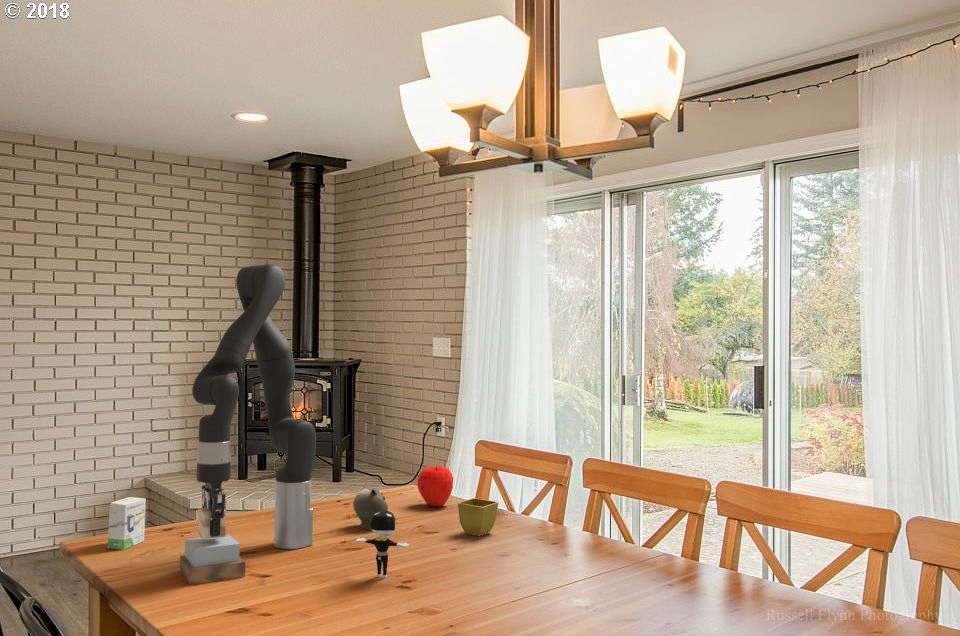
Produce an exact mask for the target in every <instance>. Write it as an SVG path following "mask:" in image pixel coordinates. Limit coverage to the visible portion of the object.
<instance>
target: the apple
mask: <svg viewBox="0 0 960 636" xmlns="http://www.w3.org/2000/svg"><path fill="white" fill-rule="evenodd" d="M416 486H417V489H418V492H419V495H421V498H422V499H423V500H424V502H425V504H427V505H428V506H431V507H436V506H439V507H443V506H445V504H446V503H447V501H448V500H449V498H450V496H451V495H452V491H453V488H454V476H453V473H452V471H451V470H450V469H449V468H447V467H444V466H438V465H436V466H426V467H424V468H423V469H422V470H421V471H420V473H419V475H418V477H417V485H416Z"/></svg>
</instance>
